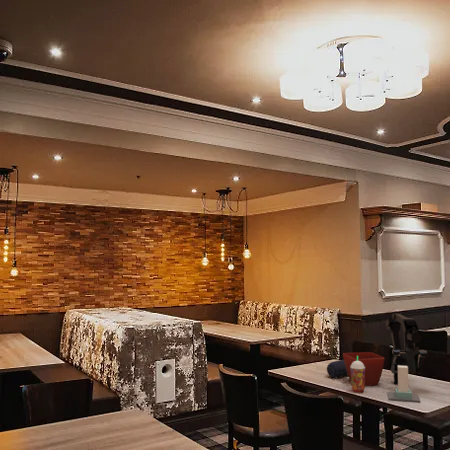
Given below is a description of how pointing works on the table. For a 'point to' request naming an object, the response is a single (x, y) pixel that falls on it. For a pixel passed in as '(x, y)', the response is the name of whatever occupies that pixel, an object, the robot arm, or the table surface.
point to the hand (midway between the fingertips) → (409, 367)
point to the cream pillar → (403, 379)
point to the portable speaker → (337, 369)
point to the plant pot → (366, 366)
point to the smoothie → (357, 376)
